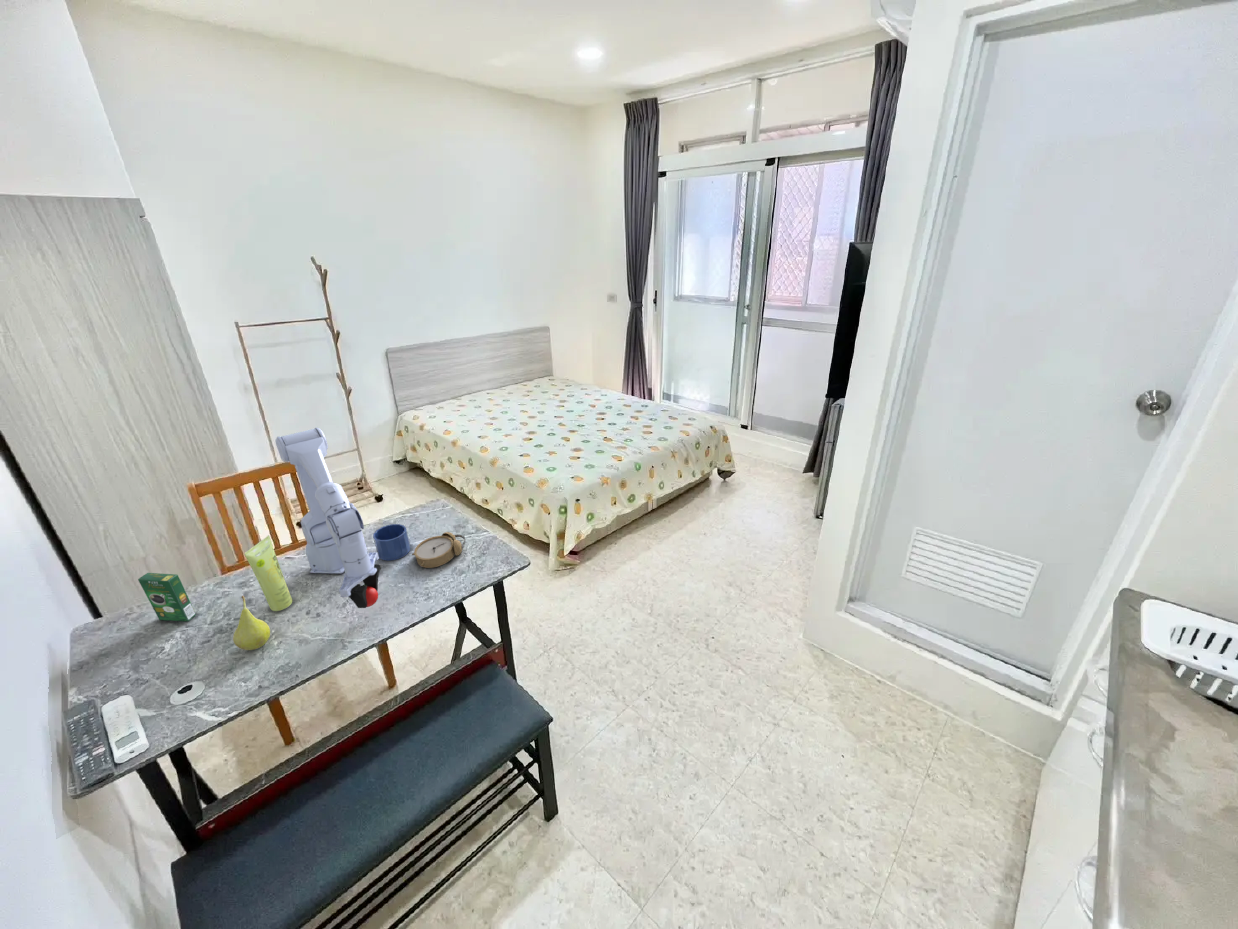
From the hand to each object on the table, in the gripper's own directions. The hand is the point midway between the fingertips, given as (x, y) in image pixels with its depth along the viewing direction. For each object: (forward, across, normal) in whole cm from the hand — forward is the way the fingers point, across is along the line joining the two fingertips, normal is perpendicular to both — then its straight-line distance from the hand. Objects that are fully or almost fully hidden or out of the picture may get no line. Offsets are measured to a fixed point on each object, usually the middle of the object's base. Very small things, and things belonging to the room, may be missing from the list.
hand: (367, 599), depth 121 cm
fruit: (+5, -11, +22) cm, 25 cm away
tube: (+5, +2, +25) cm, 25 cm away
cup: (+4, +26, +6) cm, 27 cm away
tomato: (+2, 0, 0) cm, 2 cm away
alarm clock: (+5, +25, -9) cm, 27 cm away
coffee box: (+5, -3, +48) cm, 48 cm away
